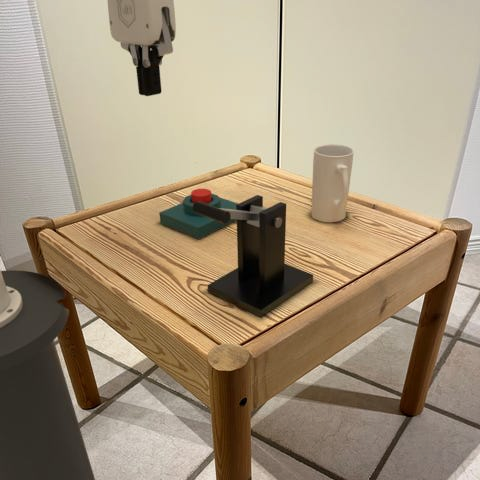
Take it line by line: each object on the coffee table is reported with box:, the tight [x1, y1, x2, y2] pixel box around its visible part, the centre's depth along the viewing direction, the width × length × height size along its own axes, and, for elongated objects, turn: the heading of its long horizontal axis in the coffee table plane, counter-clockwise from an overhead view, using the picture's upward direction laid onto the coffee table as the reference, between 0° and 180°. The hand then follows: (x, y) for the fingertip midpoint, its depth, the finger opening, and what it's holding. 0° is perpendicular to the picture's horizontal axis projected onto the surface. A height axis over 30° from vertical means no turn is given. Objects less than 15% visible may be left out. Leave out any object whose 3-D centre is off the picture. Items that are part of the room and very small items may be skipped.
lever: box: [193, 201, 268, 227], centre depth 65 cm, size 12×5×2 cm, turn 138°
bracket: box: [207, 194, 314, 318], centre depth 71 cm, size 12×10×13 cm
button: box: [190, 188, 212, 204], centre depth 91 cm, size 4×4×2 cm
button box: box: [158, 192, 239, 240], centre depth 93 cm, size 12×10×4 cm
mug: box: [310, 143, 355, 223], centre depth 90 cm, size 10×7×12 cm, turn 12°
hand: (150, 93), depth 79 cm, fingers closed
